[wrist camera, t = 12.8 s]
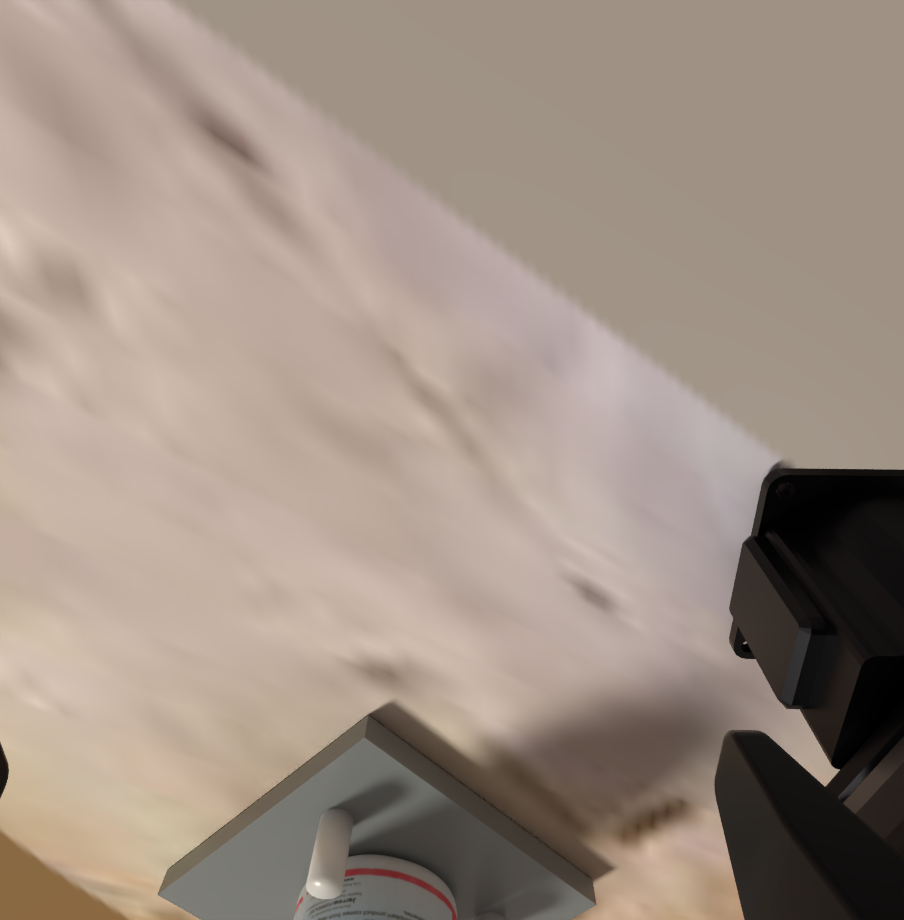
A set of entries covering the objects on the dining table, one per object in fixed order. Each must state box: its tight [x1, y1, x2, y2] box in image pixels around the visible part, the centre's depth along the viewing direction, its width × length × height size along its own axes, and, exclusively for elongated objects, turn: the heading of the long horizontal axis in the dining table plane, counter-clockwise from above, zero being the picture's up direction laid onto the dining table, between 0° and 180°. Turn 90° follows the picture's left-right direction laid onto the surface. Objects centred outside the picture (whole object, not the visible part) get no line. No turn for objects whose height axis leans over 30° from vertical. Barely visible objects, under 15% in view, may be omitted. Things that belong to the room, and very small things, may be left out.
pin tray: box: [157, 715, 596, 920], centre depth 26 cm, size 12×12×4 cm
